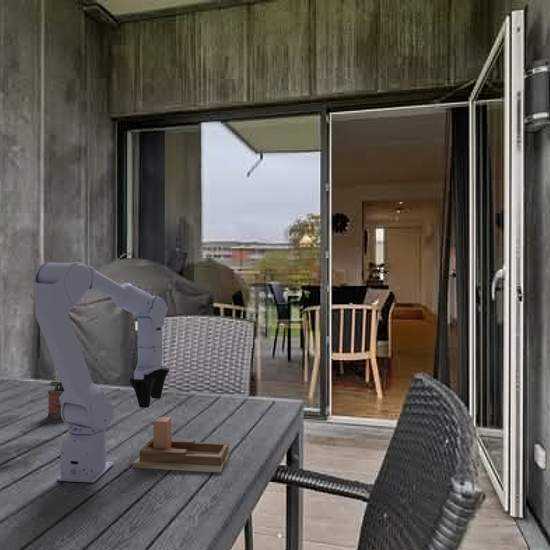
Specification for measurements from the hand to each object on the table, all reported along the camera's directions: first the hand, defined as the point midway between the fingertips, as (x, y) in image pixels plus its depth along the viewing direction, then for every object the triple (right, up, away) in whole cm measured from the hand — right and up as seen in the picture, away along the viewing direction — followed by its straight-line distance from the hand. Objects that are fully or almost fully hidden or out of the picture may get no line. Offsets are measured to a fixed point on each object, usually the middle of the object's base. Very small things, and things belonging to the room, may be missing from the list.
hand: (150, 402), depth 123 cm
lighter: (-30, -9, +22) cm, 38 cm away
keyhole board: (+10, -10, -10) cm, 17 cm away
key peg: (+5, -9, -9) cm, 14 cm away
